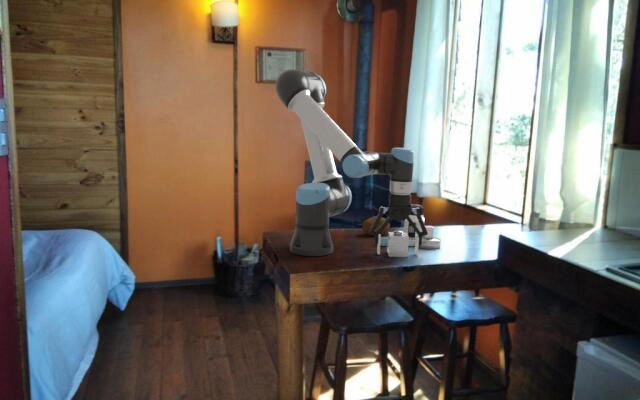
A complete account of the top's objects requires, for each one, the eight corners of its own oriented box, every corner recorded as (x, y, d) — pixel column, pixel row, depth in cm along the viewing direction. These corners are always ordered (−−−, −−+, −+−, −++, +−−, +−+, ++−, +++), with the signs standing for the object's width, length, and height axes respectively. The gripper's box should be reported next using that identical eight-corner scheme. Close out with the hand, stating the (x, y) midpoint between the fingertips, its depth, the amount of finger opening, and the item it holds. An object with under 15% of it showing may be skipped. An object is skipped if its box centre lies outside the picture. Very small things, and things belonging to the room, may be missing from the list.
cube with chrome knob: (388, 256, 177) (390, 233, 176) (387, 251, 184) (388, 229, 182) (407, 257, 177) (409, 233, 176) (405, 252, 184) (406, 229, 182)
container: (423, 240, 202) (425, 207, 200) (403, 238, 204) (405, 206, 202) (423, 235, 210) (425, 204, 208) (404, 234, 211) (406, 203, 209)
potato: (357, 234, 209) (358, 215, 208) (381, 231, 216) (382, 213, 214) (369, 238, 202) (370, 219, 201) (394, 235, 209) (395, 216, 208)
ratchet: (380, 247, 189) (381, 227, 188) (378, 241, 198) (379, 222, 197) (442, 249, 188) (443, 229, 187) (437, 243, 197) (438, 224, 196)
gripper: (365, 193, 173) (362, 255, 177) (438, 196, 173) (434, 257, 176) (363, 190, 181) (361, 249, 184) (434, 192, 180) (430, 252, 184)
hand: (397, 253), depth 180 cm, fingers open, 12 cm apart
